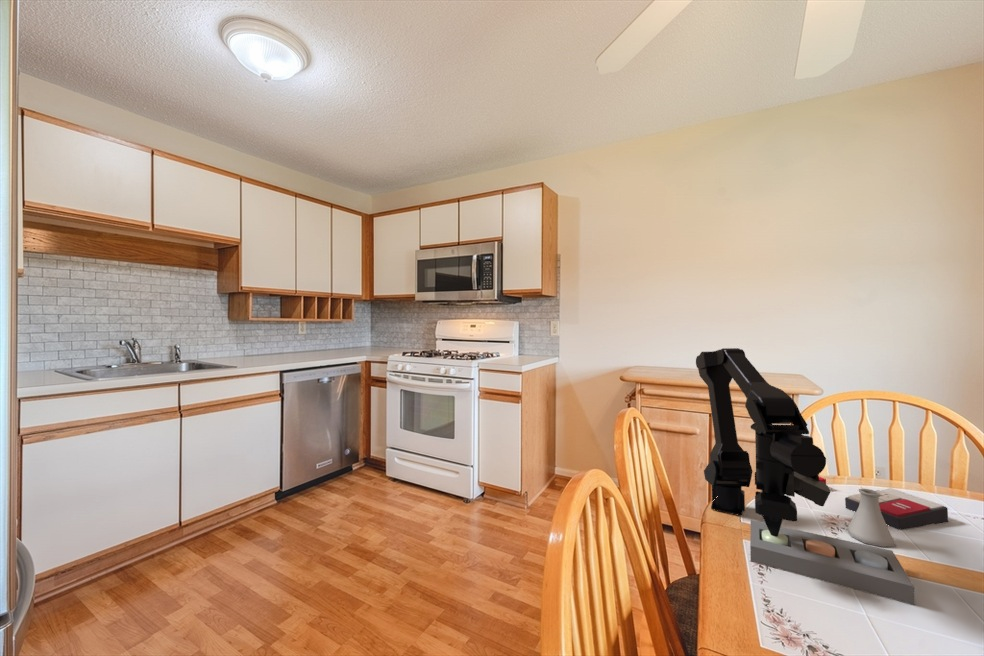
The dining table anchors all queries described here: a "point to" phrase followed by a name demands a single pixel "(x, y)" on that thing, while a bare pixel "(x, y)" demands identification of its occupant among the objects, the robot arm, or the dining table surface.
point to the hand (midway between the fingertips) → (774, 535)
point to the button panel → (833, 563)
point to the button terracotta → (820, 548)
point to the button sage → (775, 538)
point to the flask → (870, 521)
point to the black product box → (904, 509)
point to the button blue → (871, 559)
